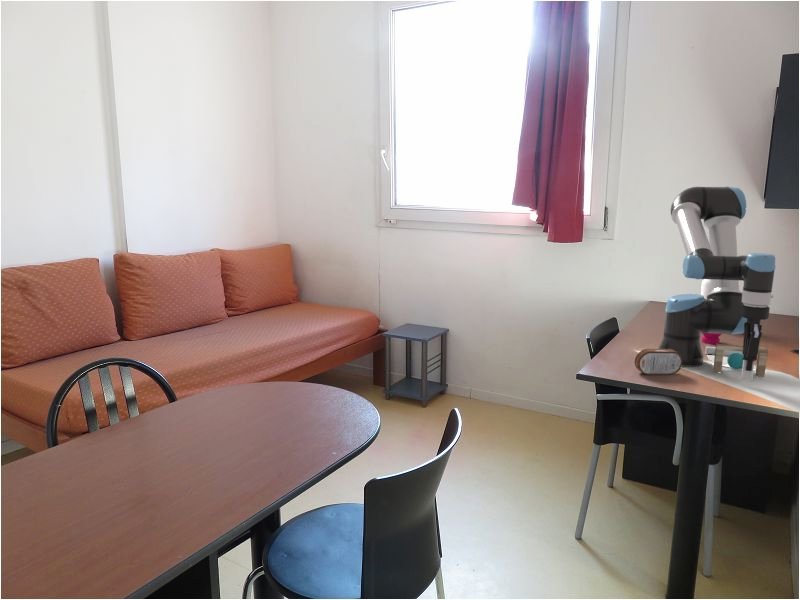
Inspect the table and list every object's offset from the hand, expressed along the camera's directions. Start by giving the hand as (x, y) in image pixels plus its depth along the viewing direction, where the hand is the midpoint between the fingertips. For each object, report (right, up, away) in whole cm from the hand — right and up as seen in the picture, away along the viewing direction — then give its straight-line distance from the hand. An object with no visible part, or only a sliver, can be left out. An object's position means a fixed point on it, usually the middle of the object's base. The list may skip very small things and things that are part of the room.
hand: (746, 379), depth 188 cm
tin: (-23, 0, +11) cm, 25 cm away
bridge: (+4, 0, +12) cm, 13 cm away
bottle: (+27, +12, +78) cm, 83 cm away
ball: (+7, +4, +17) cm, 19 cm away
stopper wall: (+12, +4, +34) cm, 37 cm away
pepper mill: (+16, +8, +53) cm, 56 cm away
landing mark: (+9, +3, +25) cm, 27 cm away
